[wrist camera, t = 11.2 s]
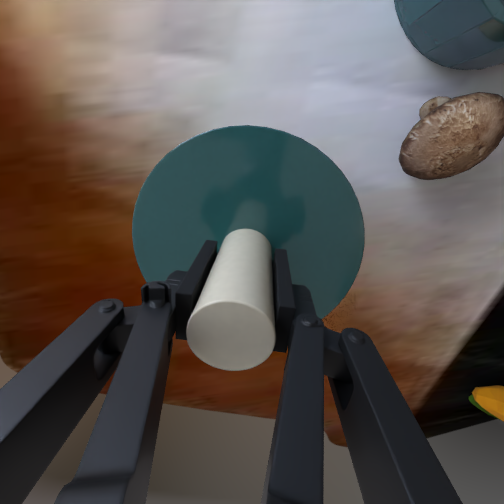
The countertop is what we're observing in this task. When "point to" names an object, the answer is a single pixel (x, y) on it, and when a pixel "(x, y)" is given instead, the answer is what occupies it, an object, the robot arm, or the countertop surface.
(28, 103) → the countertop surface
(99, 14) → the countertop surface
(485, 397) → the corn
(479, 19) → the pot
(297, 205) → the lid
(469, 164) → the mushroom
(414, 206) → the countertop surface
